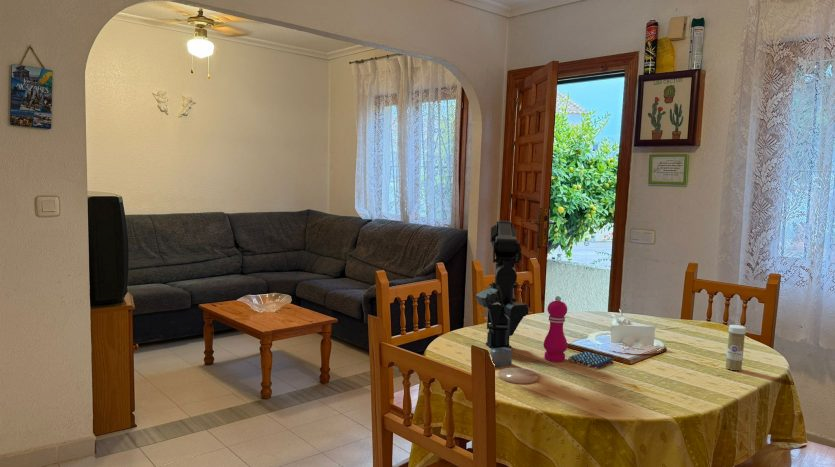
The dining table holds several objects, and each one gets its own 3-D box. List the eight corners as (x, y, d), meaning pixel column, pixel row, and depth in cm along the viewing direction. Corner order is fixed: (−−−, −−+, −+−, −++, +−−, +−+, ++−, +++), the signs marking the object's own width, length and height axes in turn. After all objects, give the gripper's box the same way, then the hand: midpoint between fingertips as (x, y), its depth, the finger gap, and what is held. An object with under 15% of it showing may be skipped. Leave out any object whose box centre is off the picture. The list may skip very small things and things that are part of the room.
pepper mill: (567, 357, 188) (571, 295, 186) (565, 363, 181) (569, 299, 179) (544, 354, 190) (547, 292, 188) (541, 360, 184) (544, 297, 181)
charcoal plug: (507, 361, 182) (507, 346, 182) (514, 365, 179) (514, 350, 178) (481, 364, 179) (482, 349, 178) (488, 368, 175) (488, 353, 175)
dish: (583, 349, 198) (585, 316, 197) (591, 331, 221) (593, 301, 220) (663, 360, 189) (666, 325, 188) (663, 339, 212) (665, 308, 211)
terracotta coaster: (523, 368, 176) (523, 365, 176) (545, 381, 166) (545, 378, 166) (491, 372, 171) (491, 369, 171) (512, 385, 162) (512, 382, 161)
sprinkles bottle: (726, 370, 180) (729, 327, 178) (724, 365, 184) (728, 323, 183) (743, 372, 178) (747, 328, 177) (741, 368, 182) (745, 325, 181)
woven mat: (583, 355, 191) (583, 349, 191) (614, 364, 184) (614, 357, 184) (566, 362, 184) (566, 356, 184) (597, 371, 177) (597, 365, 176)
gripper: (465, 275, 182) (463, 325, 183) (497, 288, 165) (495, 342, 166) (497, 274, 186) (494, 322, 188) (531, 285, 169) (528, 339, 171)
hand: (502, 331), depth 178 cm, fingers open, 9 cm apart
